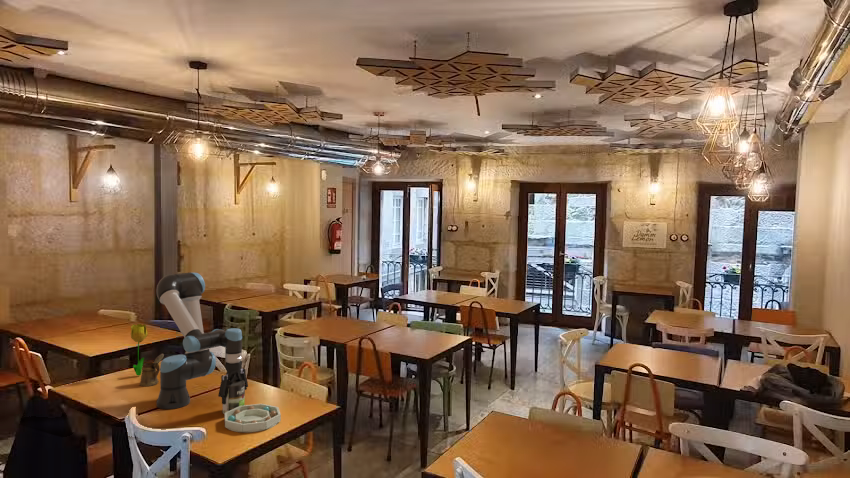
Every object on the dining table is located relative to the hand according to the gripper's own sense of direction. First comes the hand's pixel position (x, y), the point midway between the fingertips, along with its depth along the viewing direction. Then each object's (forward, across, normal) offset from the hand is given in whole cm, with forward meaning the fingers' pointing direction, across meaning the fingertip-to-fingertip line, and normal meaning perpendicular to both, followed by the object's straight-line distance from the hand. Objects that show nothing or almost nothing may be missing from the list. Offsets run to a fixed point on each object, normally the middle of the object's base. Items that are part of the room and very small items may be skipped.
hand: (233, 406), depth 264 cm
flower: (+2, +16, +85) cm, 87 cm away
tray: (+2, -6, -17) cm, 18 cm away
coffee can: (+3, 0, 0) cm, 3 cm away
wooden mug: (+2, +10, +67) cm, 68 cm away
